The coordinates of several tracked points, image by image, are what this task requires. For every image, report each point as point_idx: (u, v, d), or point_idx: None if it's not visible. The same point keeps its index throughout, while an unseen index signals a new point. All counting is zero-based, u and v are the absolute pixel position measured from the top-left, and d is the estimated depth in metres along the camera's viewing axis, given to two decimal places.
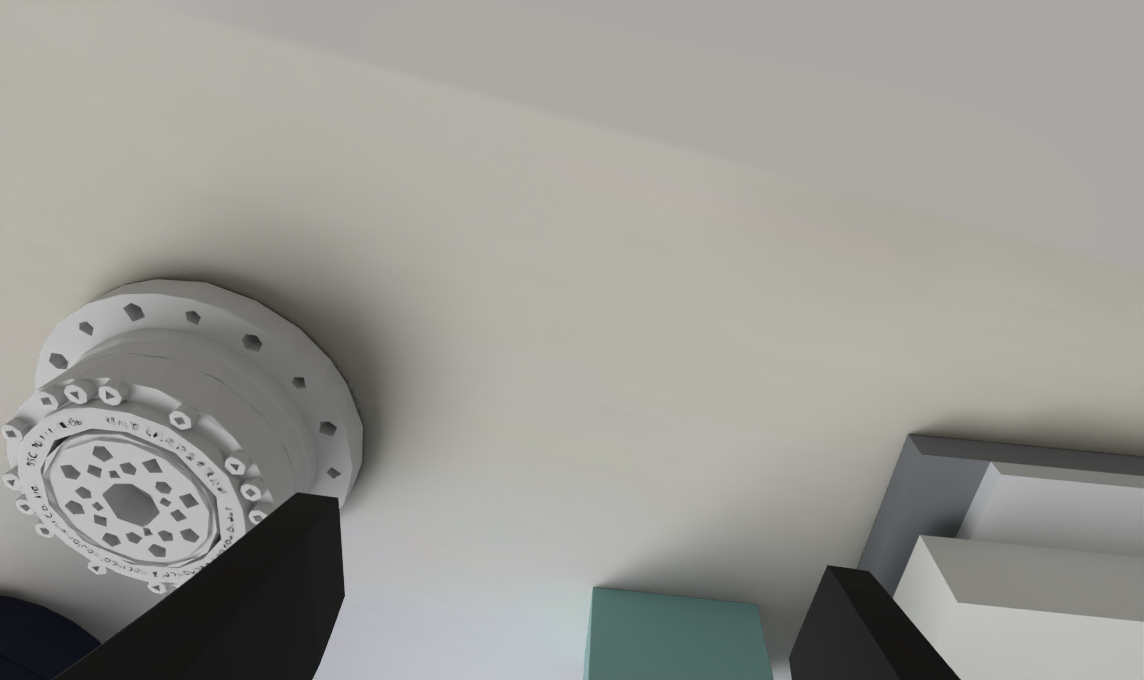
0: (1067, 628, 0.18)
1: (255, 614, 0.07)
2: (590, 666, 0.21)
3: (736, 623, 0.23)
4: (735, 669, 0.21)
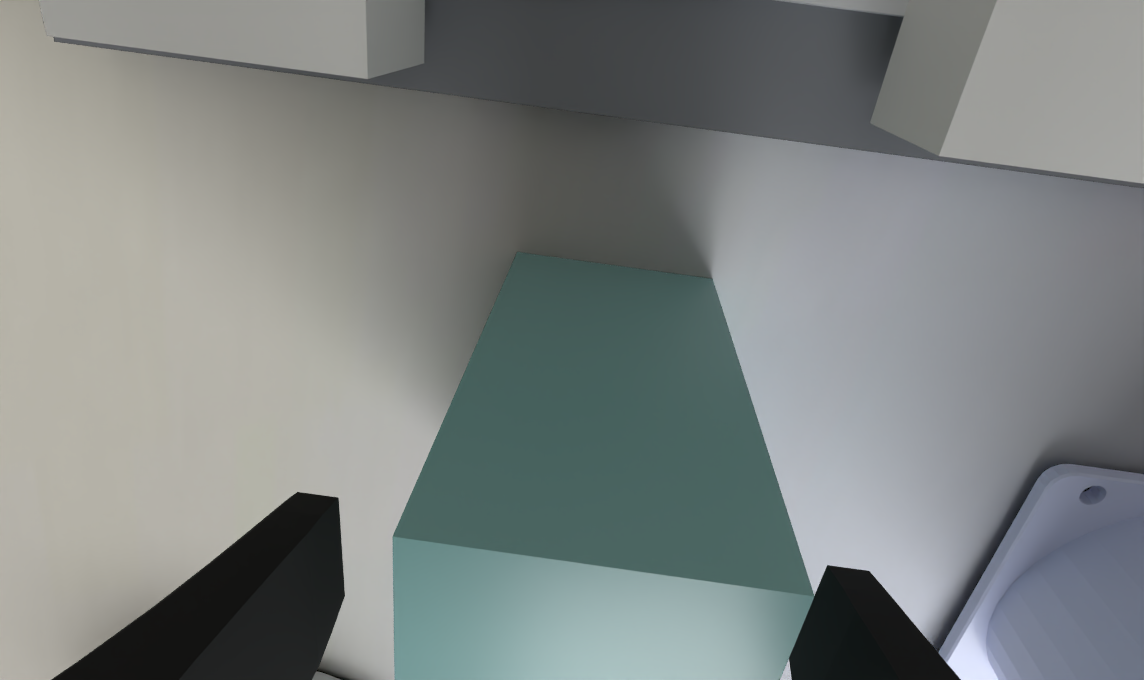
0: None
1: (255, 614, 0.07)
2: None
3: None
4: None
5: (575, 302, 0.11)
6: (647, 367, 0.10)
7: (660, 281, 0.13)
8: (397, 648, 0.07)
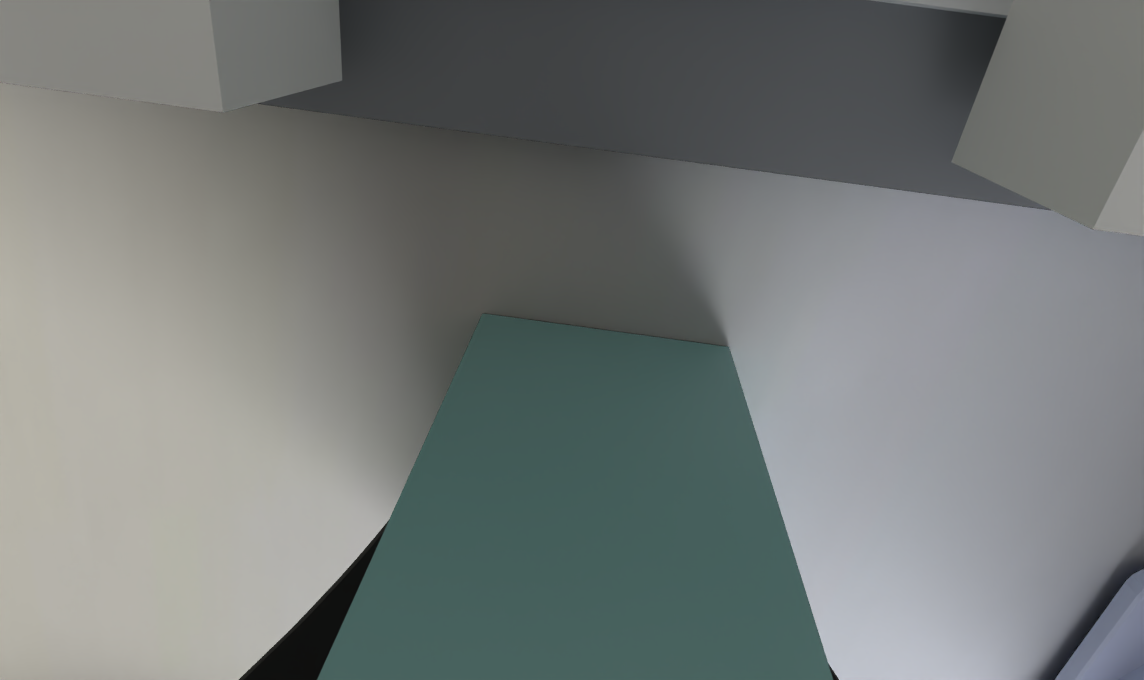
0: None
1: None
2: None
3: None
4: None
5: (553, 393, 0.09)
6: (648, 507, 0.07)
7: (663, 353, 0.10)
8: None
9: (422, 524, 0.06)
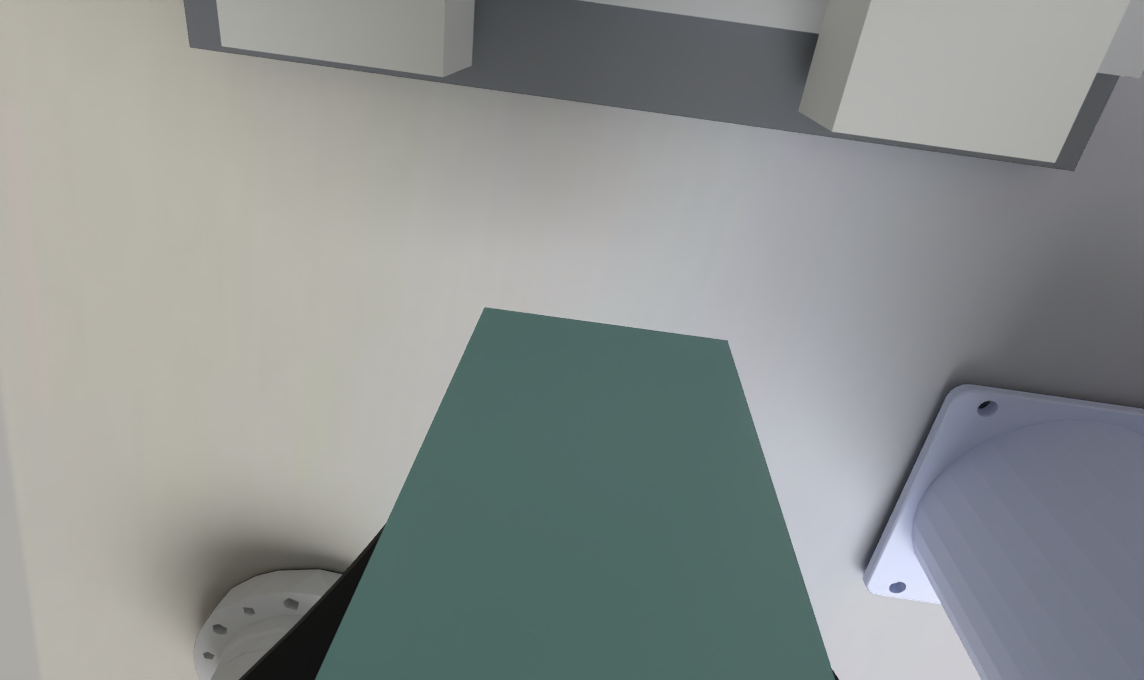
0: None
1: None
2: None
3: None
4: None
5: (554, 384, 0.09)
6: (648, 494, 0.07)
7: (662, 347, 0.10)
8: None
9: (427, 508, 0.06)
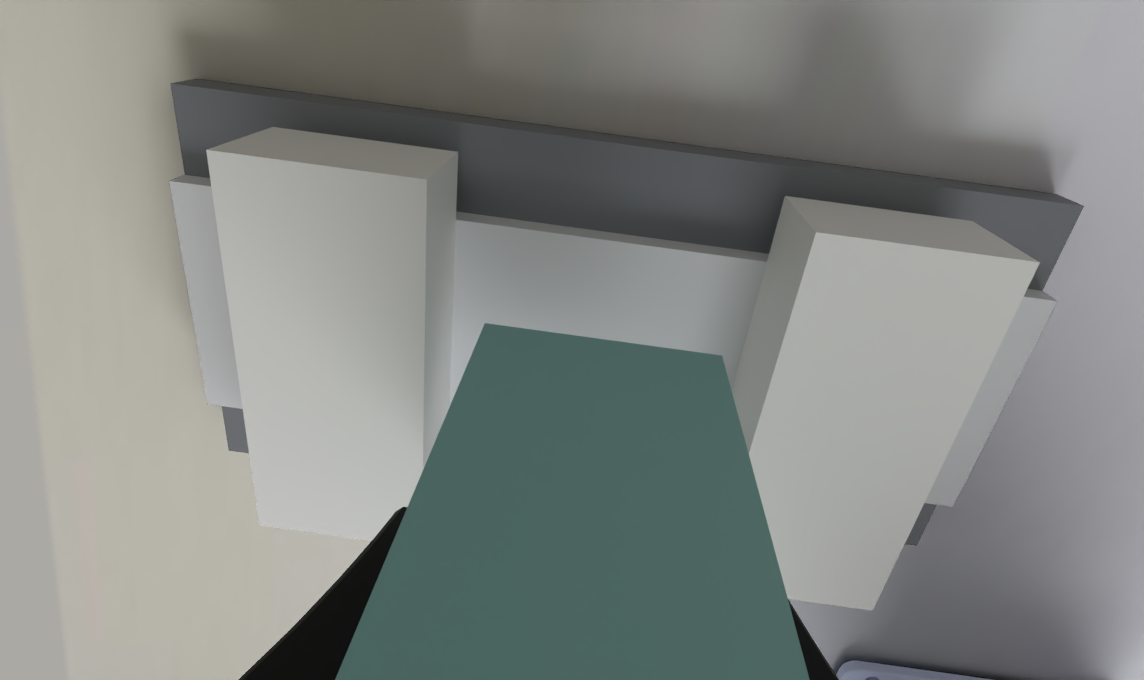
0: (268, 423, 0.14)
1: None
2: None
3: None
4: None
5: (552, 403, 0.09)
6: (642, 515, 0.07)
7: (658, 362, 0.10)
8: None
9: (429, 533, 0.07)
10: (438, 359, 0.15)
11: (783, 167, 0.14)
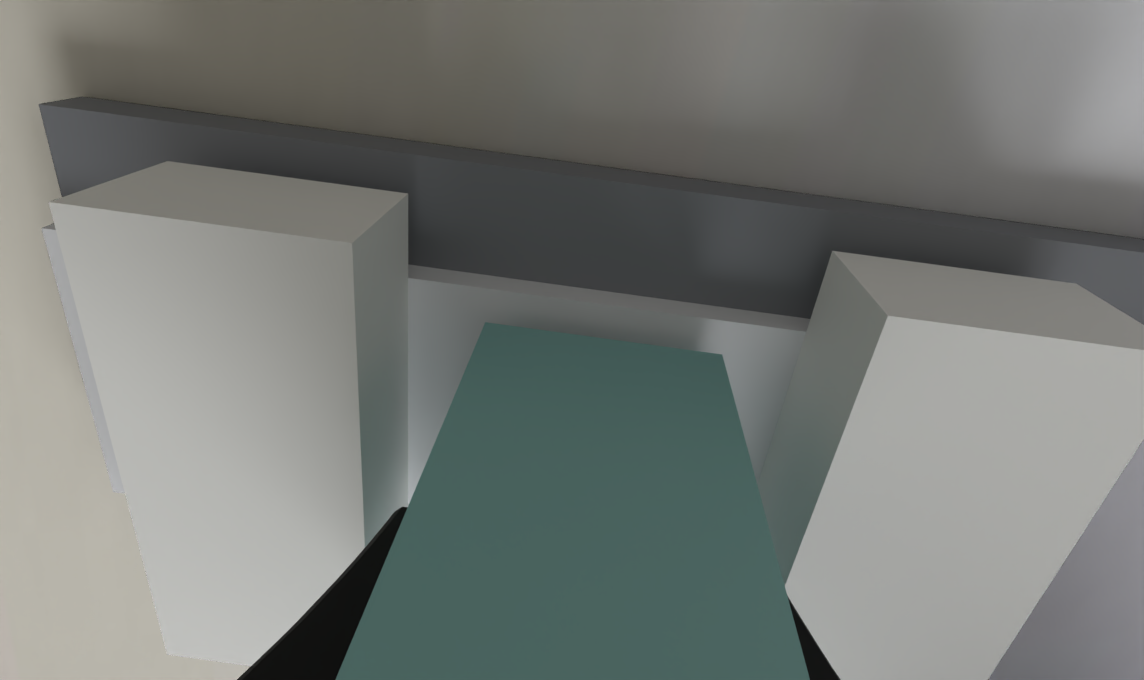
0: (167, 541, 0.11)
1: None
2: None
3: None
4: None
5: (552, 401, 0.09)
6: (641, 514, 0.07)
7: (658, 361, 0.10)
8: None
9: (430, 531, 0.07)
10: (386, 455, 0.12)
11: (829, 212, 0.11)
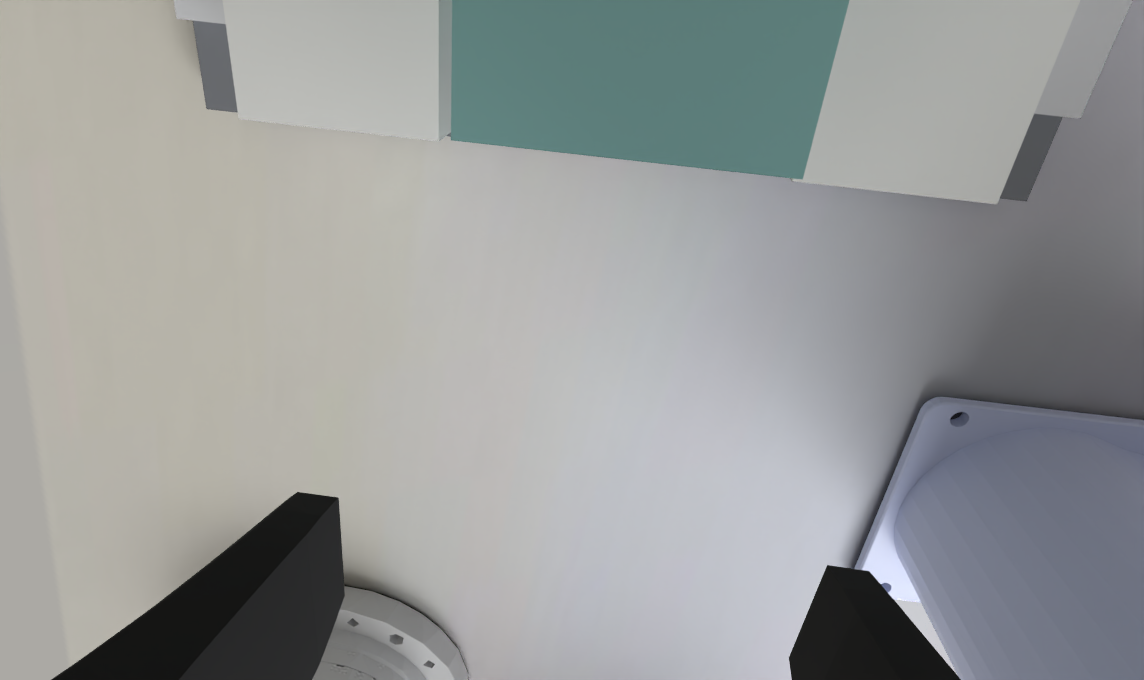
0: None
1: (255, 614, 0.07)
2: None
3: None
4: None
5: None
6: None
7: None
8: None
9: None
10: None
11: None
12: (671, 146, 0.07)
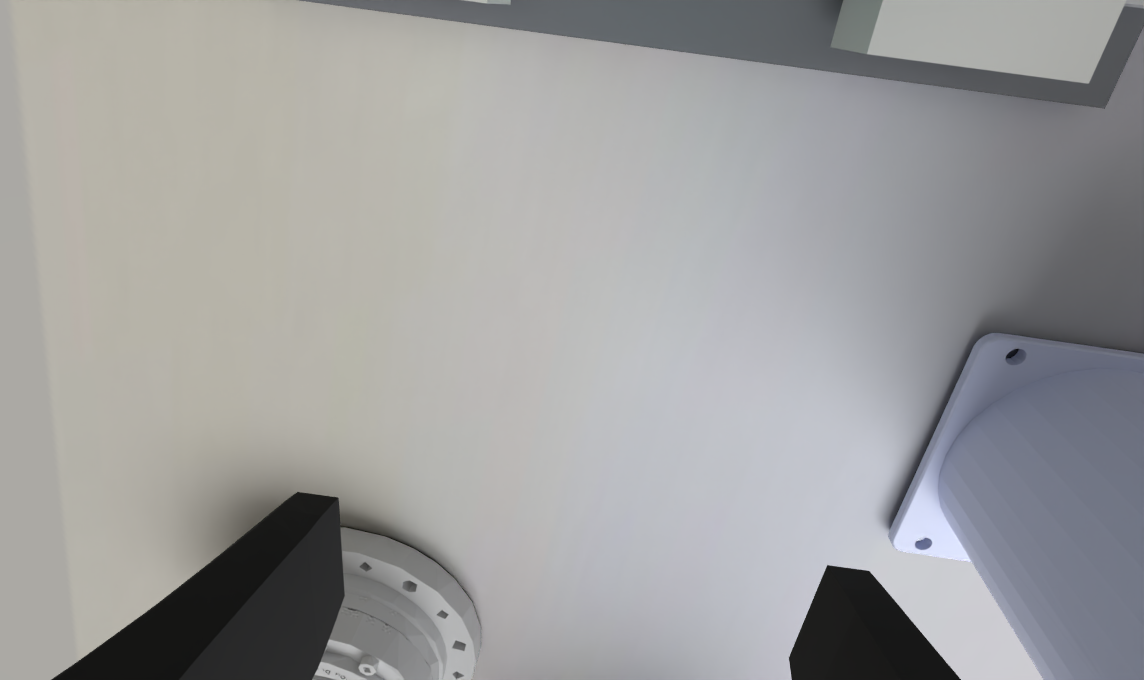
0: None
1: (255, 614, 0.07)
2: None
3: None
4: None
5: None
6: None
7: None
8: None
9: None
10: None
11: None
12: None
